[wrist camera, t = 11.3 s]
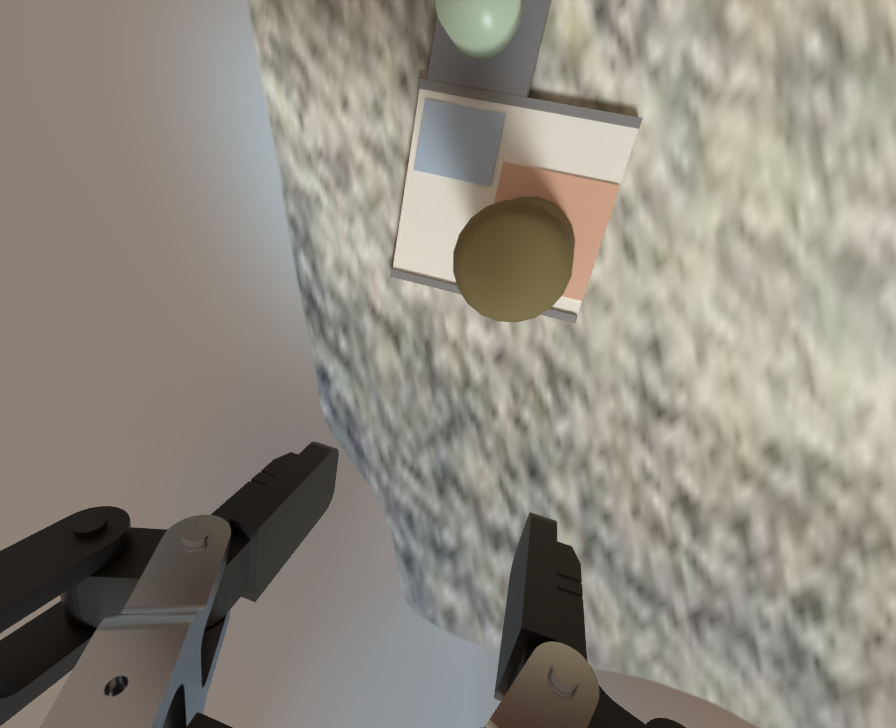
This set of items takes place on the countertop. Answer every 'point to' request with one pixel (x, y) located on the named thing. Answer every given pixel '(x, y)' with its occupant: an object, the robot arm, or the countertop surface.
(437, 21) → the button housing
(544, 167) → the picture board
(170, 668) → the robot arm
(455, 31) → the button
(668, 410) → the countertop surface
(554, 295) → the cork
